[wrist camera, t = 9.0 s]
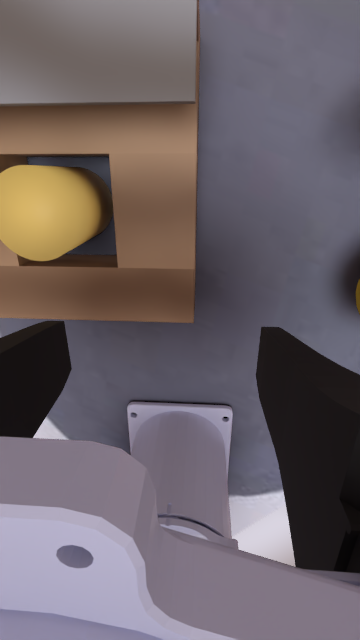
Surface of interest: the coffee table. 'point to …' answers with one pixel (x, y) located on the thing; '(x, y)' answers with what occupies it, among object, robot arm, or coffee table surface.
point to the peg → (51, 209)
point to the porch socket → (107, 149)
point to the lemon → (358, 296)
